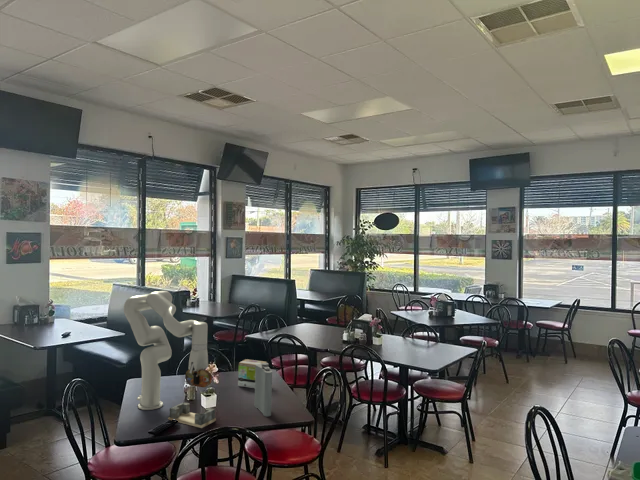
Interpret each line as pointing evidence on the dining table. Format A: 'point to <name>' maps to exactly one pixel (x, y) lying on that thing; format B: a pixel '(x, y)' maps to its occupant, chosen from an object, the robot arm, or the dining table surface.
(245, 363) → the retro computer
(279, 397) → the dining table surface
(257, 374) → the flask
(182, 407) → the stand
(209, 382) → the tin
